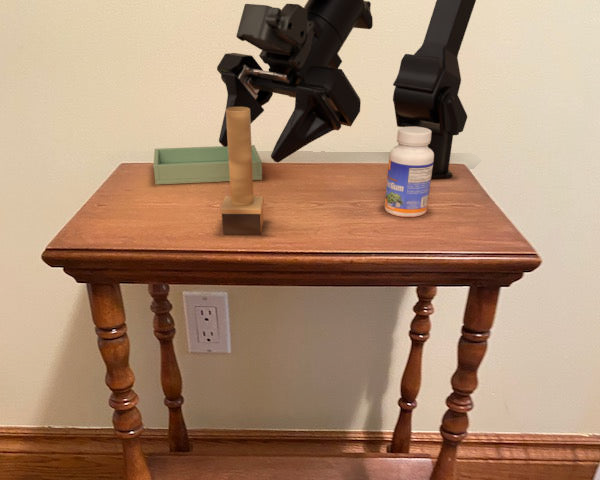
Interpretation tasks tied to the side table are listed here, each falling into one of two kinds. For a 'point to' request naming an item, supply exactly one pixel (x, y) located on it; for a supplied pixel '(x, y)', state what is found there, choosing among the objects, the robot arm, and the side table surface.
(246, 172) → the scrub brush
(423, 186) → the pill bottle
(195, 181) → the tray
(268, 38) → the robot arm
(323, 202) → the side table surface
